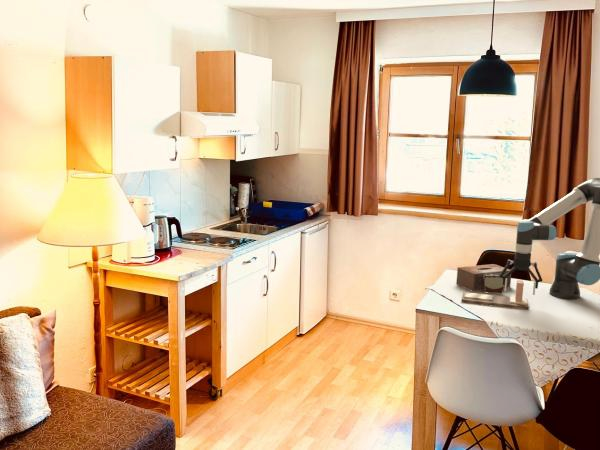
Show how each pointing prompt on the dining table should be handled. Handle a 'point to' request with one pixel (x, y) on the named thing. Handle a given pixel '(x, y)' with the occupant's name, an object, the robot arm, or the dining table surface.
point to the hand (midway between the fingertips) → (519, 292)
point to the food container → (493, 282)
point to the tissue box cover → (478, 276)
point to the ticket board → (491, 300)
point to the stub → (519, 294)
